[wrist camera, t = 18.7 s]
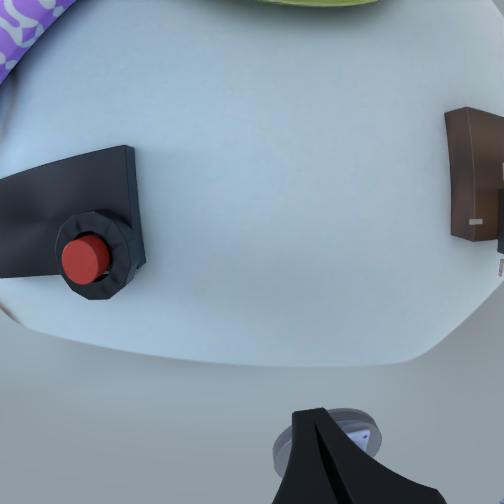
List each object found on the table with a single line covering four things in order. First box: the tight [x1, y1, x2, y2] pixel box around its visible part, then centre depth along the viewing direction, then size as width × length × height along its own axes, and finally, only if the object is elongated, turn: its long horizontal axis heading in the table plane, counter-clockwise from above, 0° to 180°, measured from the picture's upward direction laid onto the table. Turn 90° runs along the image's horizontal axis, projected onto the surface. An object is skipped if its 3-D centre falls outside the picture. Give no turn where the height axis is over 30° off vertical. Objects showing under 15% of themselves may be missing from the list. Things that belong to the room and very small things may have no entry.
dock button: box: [62, 235, 110, 284], centre depth 16 cm, size 3×3×2 cm
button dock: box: [0, 145, 146, 300], centre depth 17 cm, size 14×9×4 cm, turn 94°
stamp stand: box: [445, 107, 504, 276], centre depth 18 cm, size 13×9×3 cm
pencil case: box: [0, 0, 76, 84], centre depth 10 cm, size 22×9×10 cm, turn 135°
